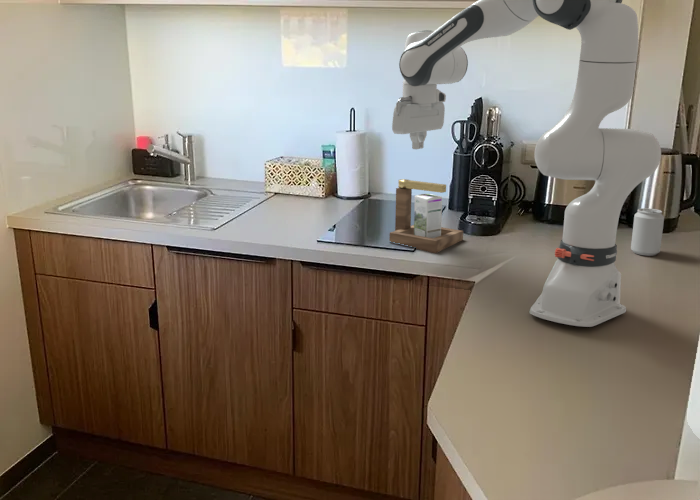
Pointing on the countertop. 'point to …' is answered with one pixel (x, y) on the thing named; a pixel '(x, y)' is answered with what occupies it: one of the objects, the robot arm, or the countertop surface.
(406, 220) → the holder
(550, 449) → the countertop surface
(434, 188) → the bar
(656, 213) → the can
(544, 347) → the countertop surface
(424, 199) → the syrup box
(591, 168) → the robot arm
